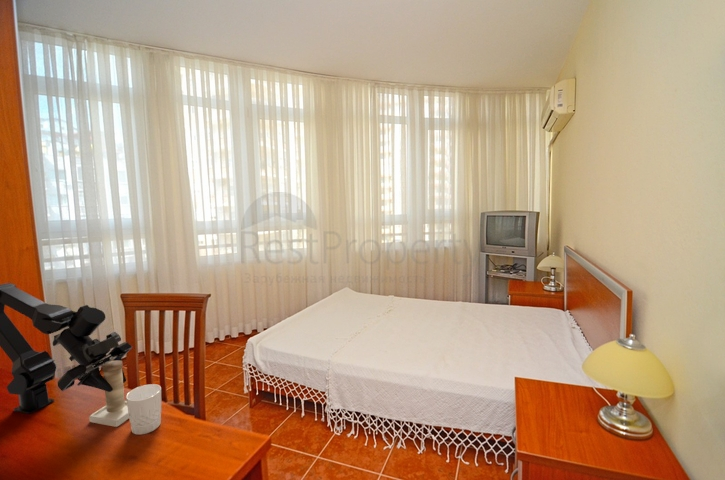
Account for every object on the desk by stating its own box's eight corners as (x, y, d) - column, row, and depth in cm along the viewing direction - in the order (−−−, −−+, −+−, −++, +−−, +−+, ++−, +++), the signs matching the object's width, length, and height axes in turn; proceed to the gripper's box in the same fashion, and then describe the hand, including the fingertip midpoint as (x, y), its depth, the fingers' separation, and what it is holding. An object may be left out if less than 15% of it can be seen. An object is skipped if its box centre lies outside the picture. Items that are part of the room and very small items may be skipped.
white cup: (169, 418, 96) (167, 384, 95) (149, 437, 88) (147, 401, 87) (143, 416, 97) (141, 383, 96) (121, 435, 89) (118, 399, 88)
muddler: (101, 413, 94) (98, 368, 93) (111, 403, 99) (108, 360, 97) (119, 412, 95) (116, 368, 93) (129, 402, 99) (125, 360, 98)
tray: (89, 421, 94) (89, 415, 94) (116, 404, 102) (115, 399, 102) (116, 426, 92) (116, 420, 92) (141, 409, 100) (141, 403, 100)
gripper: (62, 341, 85) (105, 387, 85) (124, 316, 104) (159, 353, 103) (38, 368, 87) (80, 413, 87) (103, 339, 106) (138, 375, 106)
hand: (118, 386), depth 96 cm, fingers closed on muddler, 4 cm apart
